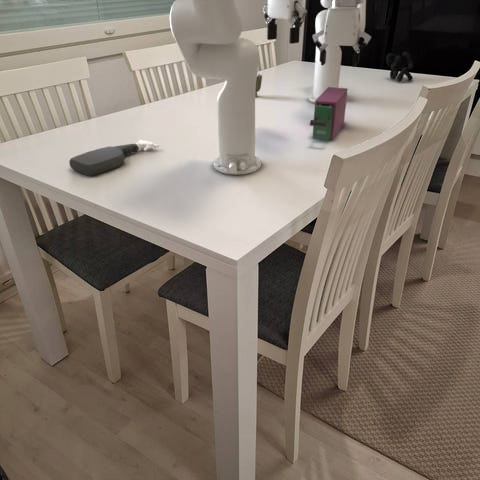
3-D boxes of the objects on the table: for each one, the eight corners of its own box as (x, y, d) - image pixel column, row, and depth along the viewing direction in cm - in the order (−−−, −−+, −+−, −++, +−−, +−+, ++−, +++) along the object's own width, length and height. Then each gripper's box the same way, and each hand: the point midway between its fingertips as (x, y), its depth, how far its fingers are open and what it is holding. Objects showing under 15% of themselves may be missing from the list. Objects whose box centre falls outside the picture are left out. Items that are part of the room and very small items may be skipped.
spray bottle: (67, 168, 120) (139, 144, 136) (91, 178, 114) (163, 151, 130) (65, 157, 118) (137, 134, 134) (89, 167, 112) (162, 142, 128)
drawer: (324, 146, 129) (327, 112, 124) (307, 144, 130) (310, 111, 125) (340, 123, 146) (343, 93, 141) (324, 122, 148) (327, 92, 143)
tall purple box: (332, 140, 135) (336, 102, 129) (312, 138, 137) (315, 100, 131) (343, 123, 149) (347, 88, 143) (325, 121, 151) (328, 86, 145)
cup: (240, 97, 179) (240, 76, 175) (248, 93, 185) (248, 72, 181) (257, 99, 176) (257, 78, 172) (265, 94, 182) (265, 74, 178)
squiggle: (400, 92, 202) (376, 71, 205) (417, 76, 202) (392, 56, 205) (405, 81, 191) (380, 59, 194) (423, 64, 191) (397, 42, 194)
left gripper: (318, -29, 116) (313, 43, 125) (274, -29, 127) (273, 37, 136) (296, -28, 112) (293, 46, 121) (254, -28, 124) (254, 39, 133)
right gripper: (376, 2, 129) (368, 64, 137) (317, 1, 134) (313, 62, 143) (373, 3, 123) (365, 69, 131) (311, 3, 128) (308, 66, 137)
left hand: (282, 41), depth 129 cm, fingers open, 9 cm apart
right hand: (338, 65), depth 137 cm, fingers open, 9 cm apart
